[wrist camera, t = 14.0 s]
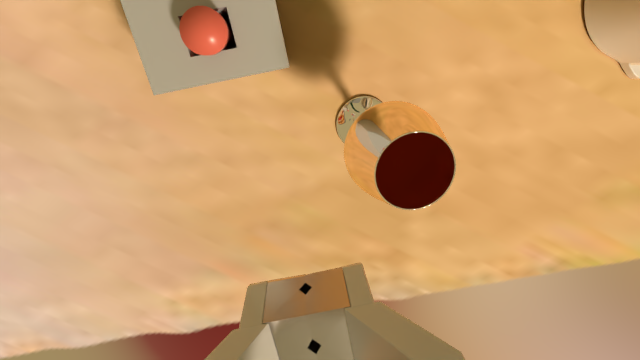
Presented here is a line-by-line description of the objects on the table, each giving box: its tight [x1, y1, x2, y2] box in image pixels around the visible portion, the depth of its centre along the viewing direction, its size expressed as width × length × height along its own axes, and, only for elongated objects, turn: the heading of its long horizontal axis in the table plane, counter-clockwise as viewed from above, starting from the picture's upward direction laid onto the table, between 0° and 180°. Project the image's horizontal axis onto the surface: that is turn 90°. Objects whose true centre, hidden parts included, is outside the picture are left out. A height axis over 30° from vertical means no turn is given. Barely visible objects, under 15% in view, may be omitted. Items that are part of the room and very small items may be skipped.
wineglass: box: [336, 96, 456, 210], centre depth 32 cm, size 8×8×18 cm
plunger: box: [179, 6, 235, 55], centre depth 31 cm, size 4×4×9 cm
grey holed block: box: [120, 0, 289, 95], centre depth 33 cm, size 12×8×8 cm, turn 101°
